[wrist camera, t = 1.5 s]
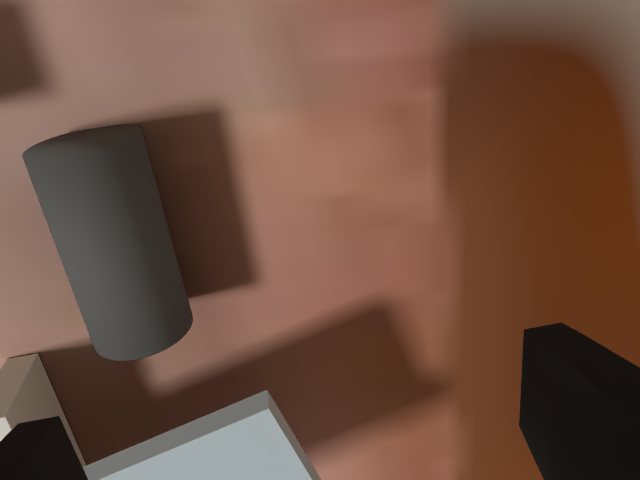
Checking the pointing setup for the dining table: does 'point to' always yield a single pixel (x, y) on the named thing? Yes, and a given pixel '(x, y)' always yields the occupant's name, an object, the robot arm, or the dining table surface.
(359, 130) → the dining table surface
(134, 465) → the cover
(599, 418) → the robot arm
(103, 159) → the gray tin can
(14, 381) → the pale grey rectangular block
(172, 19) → the dining table surface
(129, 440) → the dining table surface
